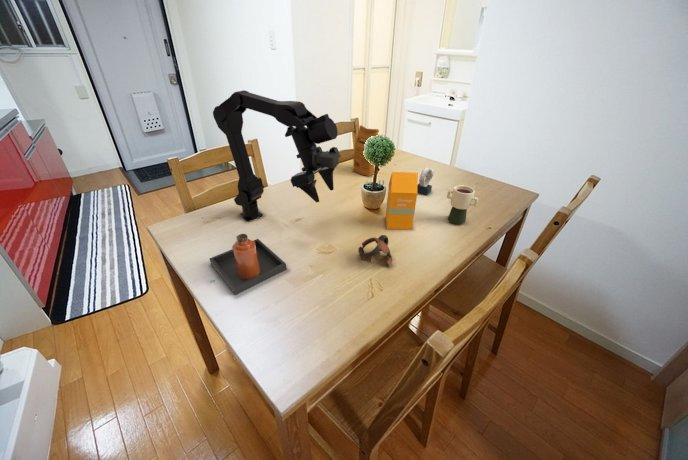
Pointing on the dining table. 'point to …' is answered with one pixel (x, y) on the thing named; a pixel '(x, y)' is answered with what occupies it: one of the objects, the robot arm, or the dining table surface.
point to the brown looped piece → (376, 249)
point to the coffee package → (359, 160)
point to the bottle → (246, 257)
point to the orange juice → (401, 200)
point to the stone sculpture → (425, 181)
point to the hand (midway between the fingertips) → (325, 195)
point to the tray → (268, 269)
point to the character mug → (460, 203)
